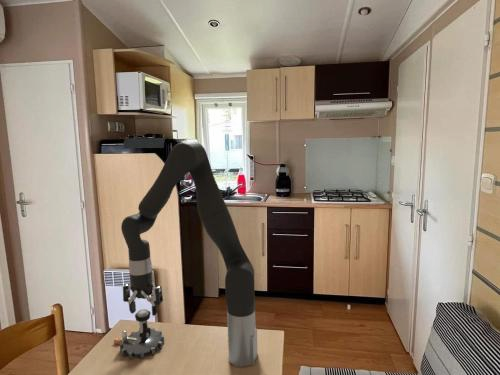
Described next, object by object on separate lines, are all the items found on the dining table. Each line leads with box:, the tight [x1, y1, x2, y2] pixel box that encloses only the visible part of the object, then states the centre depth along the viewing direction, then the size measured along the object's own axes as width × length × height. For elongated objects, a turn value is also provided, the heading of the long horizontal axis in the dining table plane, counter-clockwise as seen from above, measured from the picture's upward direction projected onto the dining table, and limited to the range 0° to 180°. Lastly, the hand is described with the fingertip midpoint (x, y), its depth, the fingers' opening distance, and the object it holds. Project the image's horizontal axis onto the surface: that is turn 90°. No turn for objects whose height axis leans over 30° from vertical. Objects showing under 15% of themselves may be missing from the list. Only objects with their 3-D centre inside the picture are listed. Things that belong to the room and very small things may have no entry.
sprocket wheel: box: [119, 327, 165, 360], centre depth 112 cm, size 15×15×6 cm
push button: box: [134, 308, 152, 343], centre depth 112 cm, size 7×5×10 cm
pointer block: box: [113, 337, 123, 346], centre depth 114 cm, size 3×2×2 cm, turn 77°
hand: (144, 313), depth 111 cm, fingers open, 8 cm apart
